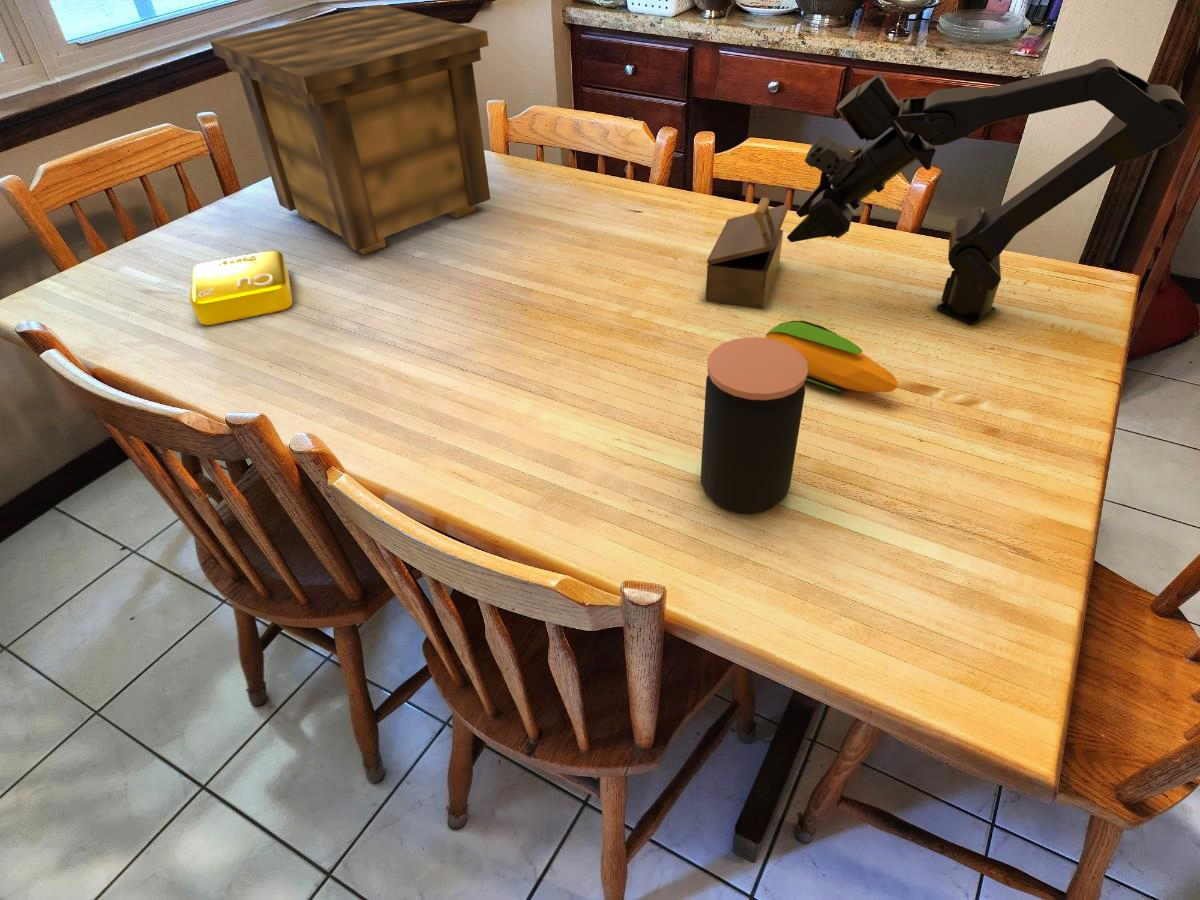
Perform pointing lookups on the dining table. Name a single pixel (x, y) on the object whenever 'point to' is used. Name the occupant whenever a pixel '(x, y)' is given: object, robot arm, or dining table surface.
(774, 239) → the brown box lid
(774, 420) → the coffee jar
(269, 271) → the element tile
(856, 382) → the corn
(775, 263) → the brown wooden box
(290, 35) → the crate
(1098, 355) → the dining table surface
